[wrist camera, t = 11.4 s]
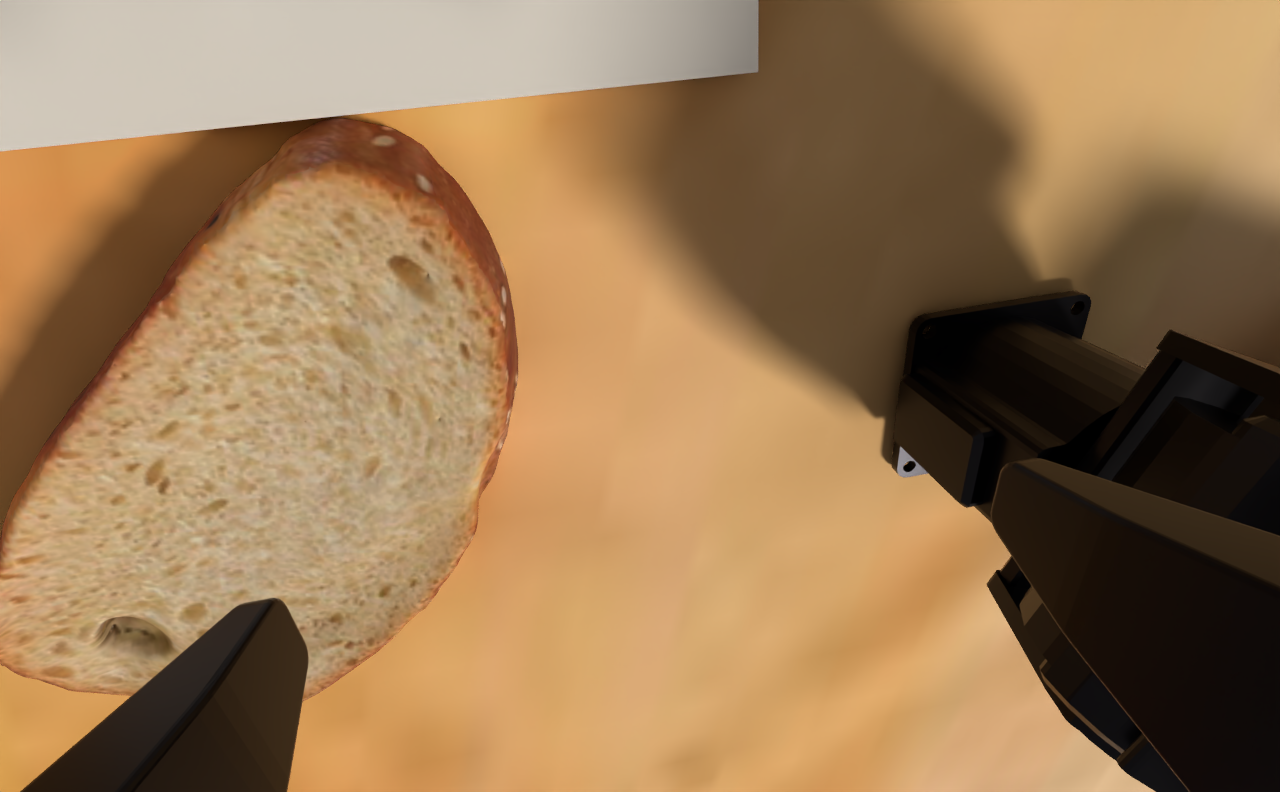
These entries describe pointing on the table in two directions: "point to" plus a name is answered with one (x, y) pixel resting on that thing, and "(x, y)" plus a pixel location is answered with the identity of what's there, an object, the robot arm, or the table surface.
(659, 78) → the light grey flat slab
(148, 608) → the bread slice
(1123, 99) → the table surface
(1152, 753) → the robot arm
